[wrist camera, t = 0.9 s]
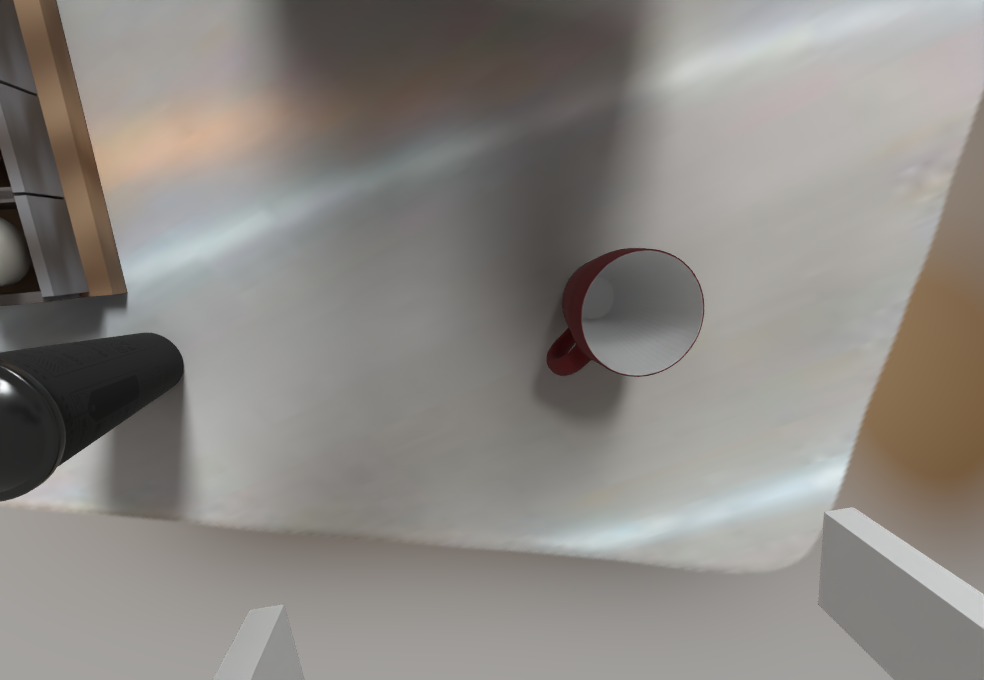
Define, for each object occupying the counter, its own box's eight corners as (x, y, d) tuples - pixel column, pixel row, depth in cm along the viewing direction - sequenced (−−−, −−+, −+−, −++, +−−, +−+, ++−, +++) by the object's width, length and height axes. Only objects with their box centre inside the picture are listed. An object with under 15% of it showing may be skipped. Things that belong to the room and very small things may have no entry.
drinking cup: (142, 293, 34) (-262, 352, 15) (223, 363, 36) (-42, 500, 16) (74, 362, 35) (-404, 508, 15) (158, 428, 36) (-177, 637, 17)
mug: (582, 385, 39) (628, 431, 29) (507, 334, 38) (529, 364, 28) (657, 285, 38) (730, 298, 28) (583, 228, 37) (633, 220, 27)
